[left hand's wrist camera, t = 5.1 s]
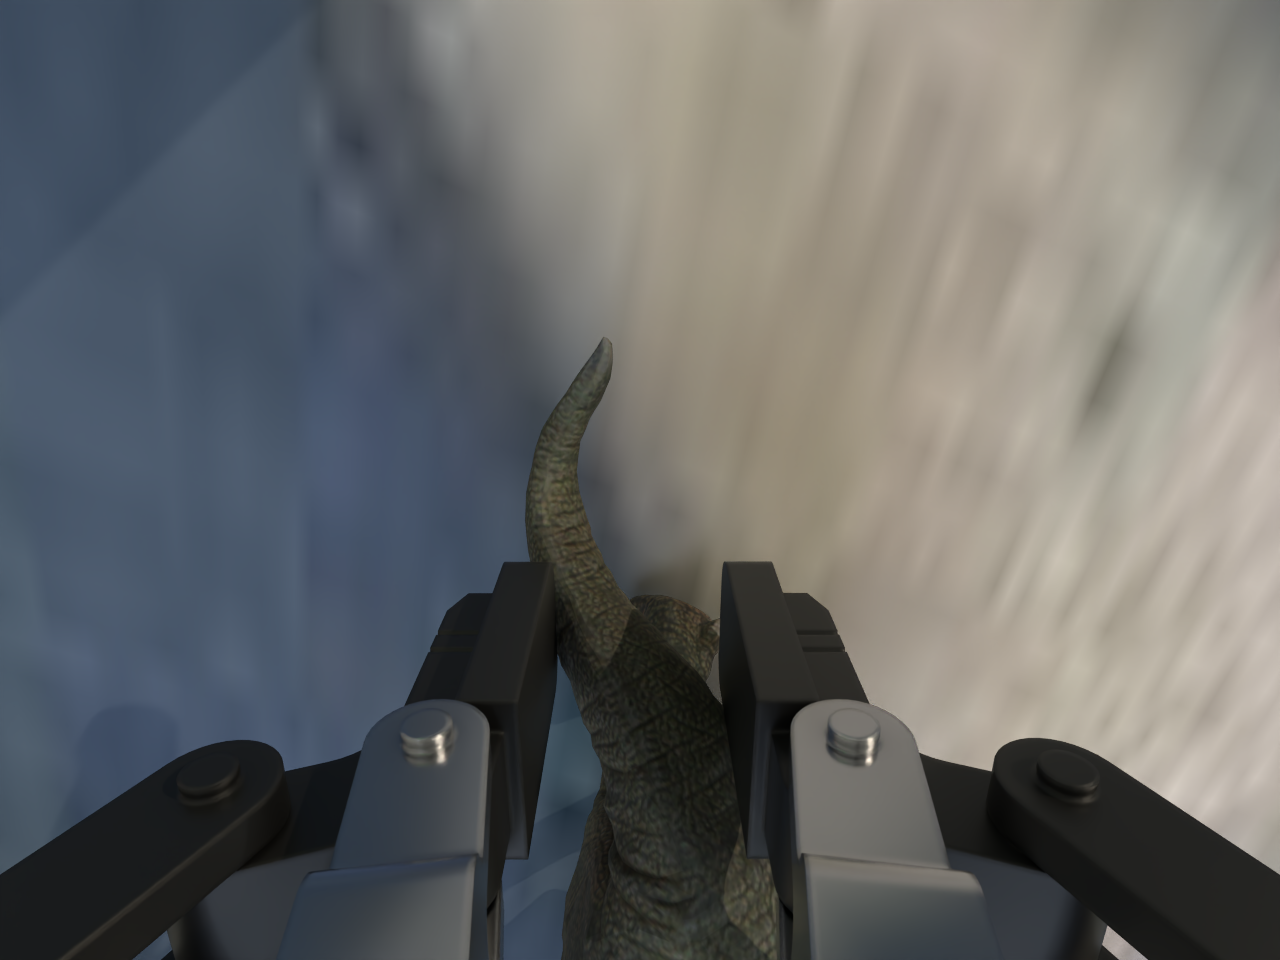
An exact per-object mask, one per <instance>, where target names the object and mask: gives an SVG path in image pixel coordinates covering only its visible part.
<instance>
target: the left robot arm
mask: <svg viewBox="0 0 1280 960" xmlns="http://www.w3.org/2000/svg"><path fill="white" fill-rule="evenodd" d="M719 681H720V691H721V698H722V704H723V709H724V716H725V722H726V729H727V736H728V742H729V749H730V755H731V761H732V768H733V774H734V781H735V787H736V793H737V800H738V806H739V813H740V819H741V825H742V832H743V838H744V844H745V851H746V857H747V859H769V861H770V866H771V871H772V876H773V882H774V885H775V889H776V892H777V903H776V945H777V960H1119V959H1117V958H1116V957H1115V956H1114V955H1113V954H1112V953H1111V952H1109V951H1108V950H1107V949H1106V948H1105V947H1104V946H1103V945H1102V943H1103V939H1104V935H1105V932H1106V928H1107V925H1108V926H1109V927H1110V928H1111V929H1113V930H1114V931H1115V932H1116V933H1117V934H1118V935H1120V936H1121V937H1122V938H1123V939H1124V940H1125V941H1127V942H1128V943H1129V944H1130V945H1131V946H1133V947H1134V948H1135V949H1136V950H1137V951H1138V952H1140V953H1141V954H1142V955H1143V956H1144V957H1145V958H1147V959H1148V960H1280V875H1279V874H1278V873H1276V872H1275V871H1273V870H1272V869H1270V868H1269V867H1267V866H1266V865H1264V864H1263V863H1261V862H1260V861H1258V860H1257V859H1255V858H1254V857H1252V856H1251V855H1249V854H1248V853H1246V852H1245V851H1243V850H1242V849H1240V848H1239V847H1237V846H1236V845H1234V844H1233V843H1231V842H1230V841H1228V840H1226V839H1225V838H1223V837H1222V836H1220V835H1219V834H1217V833H1216V832H1214V831H1213V830H1211V829H1210V828H1208V827H1207V826H1205V825H1204V824H1202V823H1201V822H1199V821H1198V820H1196V819H1195V818H1193V817H1192V816H1190V815H1189V814H1187V813H1186V812H1184V811H1183V810H1181V809H1180V808H1178V807H1177V806H1175V805H1174V804H1172V803H1171V802H1169V801H1168V800H1166V799H1165V798H1163V797H1162V796H1160V795H1159V794H1157V793H1155V792H1154V791H1152V790H1151V789H1149V788H1148V787H1146V786H1145V785H1143V784H1142V783H1140V782H1139V781H1137V780H1136V779H1134V778H1133V777H1131V776H1130V775H1128V774H1127V773H1125V772H1124V771H1122V770H1121V769H1119V768H1118V767H1116V766H1115V765H1113V764H1112V763H1110V762H1109V761H1107V760H1105V759H1104V758H1102V757H1100V756H1099V755H1097V754H1094V753H1092V752H1090V751H1088V750H1086V749H1084V748H1081V747H1078V746H1076V745H1073V744H1069V743H1066V742H1062V741H1057V740H1052V739H1044V738H1026V739H1019V740H1015V741H1012V742H1009V743H1008V744H1006V745H1004V746H1003V747H1001V748H1000V749H999V750H998V752H997V753H996V755H995V758H994V763H993V768H992V772H991V771H987V770H982V769H978V768H973V767H969V766H964V765H960V764H955V763H951V762H946V761H942V760H939V759H935V758H932V757H929V756H926V755H923V754H921V753H919V751H918V747H917V744H916V741H915V738H914V736H913V734H912V733H911V731H910V730H909V728H908V727H907V726H906V725H905V724H904V723H903V722H902V721H900V720H899V719H898V718H897V717H895V716H894V715H892V714H891V713H889V712H887V711H885V710H883V709H881V708H879V707H876V706H874V705H871V704H869V702H868V699H867V697H866V695H865V692H864V690H863V688H862V686H861V683H860V681H859V679H858V677H857V674H856V672H855V670H854V667H853V665H852V663H851V661H850V658H849V656H848V654H847V652H845V647H844V645H843V642H842V640H841V638H840V636H839V635H838V634H837V629H836V626H835V624H834V622H833V620H832V617H831V615H830V613H829V611H828V610H827V609H826V608H825V607H824V606H822V605H821V604H820V603H819V602H817V601H816V600H815V599H814V598H813V597H811V596H810V595H809V594H808V593H783V592H782V589H781V586H780V583H779V580H778V578H777V575H776V572H775V569H774V566H773V564H772V562H724V563H723V569H722V585H721V609H720V634H719ZM556 682H557V631H556V608H555V584H554V569H553V564H552V562H504V563H503V566H502V568H501V571H500V574H499V577H498V580H497V582H496V585H495V588H494V591H493V593H469V594H467V595H466V596H465V597H464V598H462V599H461V600H460V601H459V602H457V603H456V604H455V605H454V606H452V607H451V608H450V609H449V610H447V612H446V614H445V617H444V619H443V621H442V623H441V625H440V628H439V630H438V635H436V637H435V639H434V641H433V643H432V645H431V648H430V652H428V654H427V657H426V659H425V661H424V663H423V666H422V668H421V670H420V672H419V674H418V677H417V679H416V681H415V683H414V686H413V688H412V690H411V692H410V694H409V697H408V699H407V701H406V703H405V706H404V707H401V708H399V709H397V710H395V711H393V712H391V713H389V714H388V715H386V716H385V717H383V718H382V719H381V720H379V721H378V722H377V723H376V724H375V725H374V726H373V727H372V728H371V730H370V731H369V733H368V734H367V736H366V738H365V741H364V744H363V747H362V750H361V751H359V752H356V753H354V754H352V755H349V756H347V757H344V758H341V759H337V760H334V761H330V762H326V763H321V764H317V765H312V766H308V767H303V768H299V769H294V770H290V771H285V770H284V765H283V760H282V757H281V755H280V754H279V752H278V751H277V750H276V749H274V748H273V747H271V746H269V745H268V744H265V743H262V742H258V741H251V740H234V741H225V742H220V743H215V744H211V745H208V746H205V747H201V748H199V749H196V750H194V751H191V752H189V753H187V754H185V755H183V756H180V757H178V758H177V759H175V760H173V761H172V762H170V763H168V764H167V765H165V766H164V767H162V768H161V769H159V770H158V771H156V772H155V773H153V774H152V775H150V776H149V777H147V778H146V779H144V780H143V781H141V782H140V783H138V784H137V785H135V786H134V787H132V788H131V789H129V790H128V791H126V792H124V793H123V794H121V795H120V796H118V797H117V798H115V799H114V800H112V801H111V802H109V803H108V804H106V805H105V806H103V807H102V808H100V809H99V810H97V811H96V812H94V813H93V814H91V815H90V816H88V817H87V818H85V819H84V820H82V821H81V822H79V823H78V824H76V825H75V826H73V827H72V828H70V829H69V830H67V831H66V832H64V833H63V834H61V835H60V836H58V837H56V838H55V839H53V840H52V841H50V842H49V843H47V844H46V845H44V846H43V847H41V848H40V849H38V850H37V851H35V852H34V853H32V854H31V855H29V856H28V857H26V858H25V859H23V860H22V861H20V862H19V863H17V864H16V865H14V866H13V867H11V868H10V869H8V870H7V871H5V872H4V873H2V874H1V875H0V960H132V959H133V958H134V957H136V956H137V955H138V954H139V953H140V952H142V951H143V950H144V949H145V948H146V947H147V946H149V945H150V944H151V943H152V942H153V941H154V940H156V939H157V938H158V937H159V936H160V935H162V934H163V933H164V932H165V931H166V930H167V933H168V936H169V940H170V943H171V947H172V951H171V952H169V953H168V954H167V955H166V956H165V957H164V958H163V959H161V960H503V944H504V903H503V891H502V874H503V869H504V864H505V859H528V857H529V850H530V844H531V838H532V832H533V826H534V820H535V814H536V808H537V802H538V796H539V790H540V783H541V777H542V771H543V765H544V759H545V753H546V747H547V741H548V735H549V729H550V722H551V716H552V710H553V704H554V698H555V692H556Z"/></svg>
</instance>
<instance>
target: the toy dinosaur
mask: <svg viewBox="0 0 1280 960" xmlns="http://www.w3.org/2000/svg"><path fill="white" fill-rule="evenodd" d="M611 370H612V344H611V342H610V341H609V340H608V339H607V338H605V337H603V339H602V340H601V342H600V343H599V345H598V347H597V348H596V350H595V351H594V353H593V354H592V356H591V357H590V358H589V360H588V361H587V363H586V364H585V365H584V367H583V368H582V369H581V371H580V372H579V374H578V375H577V377H576V378H575V380H574V381H573V383H572V384H571V386H570V387H569V389H568V391H567V392H566V394H565V395H564V397H563V398H562V399H561V400H560V402H559V403H558V404H557V406H556V407H555V409H554V410H553V412H552V414H551V415H550V417H549V418H548V420H547V422H546V423H545V425H544V426H543V429H542V431H541V434H540V437H539V439H538V442H537V445H536V449H535V453H534V458H533V463H532V468H531V472H530V476H529V481H528V487H527V492H526V515H525V523H526V535H527V544H528V552H529V557H530V562H552V564H553V569H554V584H555V608H556V631H557V654H558V656H559V658H560V662H561V666H562V667H563V669H564V671H565V673H566V674H567V676H568V678H569V680H570V681H571V685H572V689H573V693H574V696H575V699H576V702H577V705H578V707H579V710H580V712H581V716H582V720H583V723H584V725H585V726H586V728H587V730H588V731H589V733H590V734H591V739H592V746H593V748H594V750H595V752H596V754H597V756H598V757H599V759H600V763H601V767H602V770H603V772H602V777H601V784H600V790H599V792H598V794H597V796H596V798H595V800H594V805H593V810H592V812H591V813H590V815H589V817H588V820H587V823H586V826H585V832H584V840H583V844H582V848H581V852H580V856H579V860H578V863H577V866H576V869H575V872H574V875H573V878H572V881H571V884H570V886H569V889H568V892H567V895H566V902H565V913H564V922H563V930H562V939H563V952H562V957H561V960H777V945H776V903H777V892H776V889H775V885H774V882H773V876H772V871H771V866H770V861H769V859H747V857H746V851H745V844H744V838H743V832H742V825H741V819H740V813H739V806H738V800H737V793H736V787H735V781H734V774H733V768H732V761H731V755H730V749H729V742H728V736H727V729H726V722H725V716H724V709H723V705H722V704H721V703H720V702H719V701H718V700H717V699H716V698H715V697H714V696H713V694H712V692H711V691H710V689H709V687H708V686H707V684H706V682H705V681H706V680H707V678H708V676H709V675H710V670H711V666H712V661H713V658H714V655H716V654H717V652H718V651H719V634H720V618H719V619H716V620H713V621H711V619H710V617H709V616H708V615H706V614H705V613H703V612H702V611H701V610H699V609H697V608H695V607H693V606H691V605H689V604H687V603H685V602H682V601H679V600H676V599H673V598H670V597H667V596H662V595H642V596H637V597H634V598H632V599H631V600H630V601H629V599H628V598H627V596H626V595H625V594H624V593H623V592H622V590H621V589H620V588H619V587H618V586H617V583H616V581H615V579H614V577H613V575H612V573H611V571H610V570H609V569H608V567H607V566H606V565H605V564H604V561H603V558H602V554H601V552H600V551H599V549H598V547H597V545H596V543H595V541H594V539H593V537H592V535H591V529H590V525H589V522H588V519H587V516H586V513H585V510H584V507H583V503H582V500H581V496H580V492H579V486H578V478H577V463H578V453H579V447H580V441H581V438H582V436H583V434H584V432H585V429H586V427H587V424H588V422H589V419H590V417H591V415H592V414H593V412H594V411H595V409H596V407H597V406H598V404H599V402H600V401H601V399H602V396H603V394H604V392H605V389H606V387H607V385H608V382H609V380H610V376H611Z"/></svg>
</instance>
